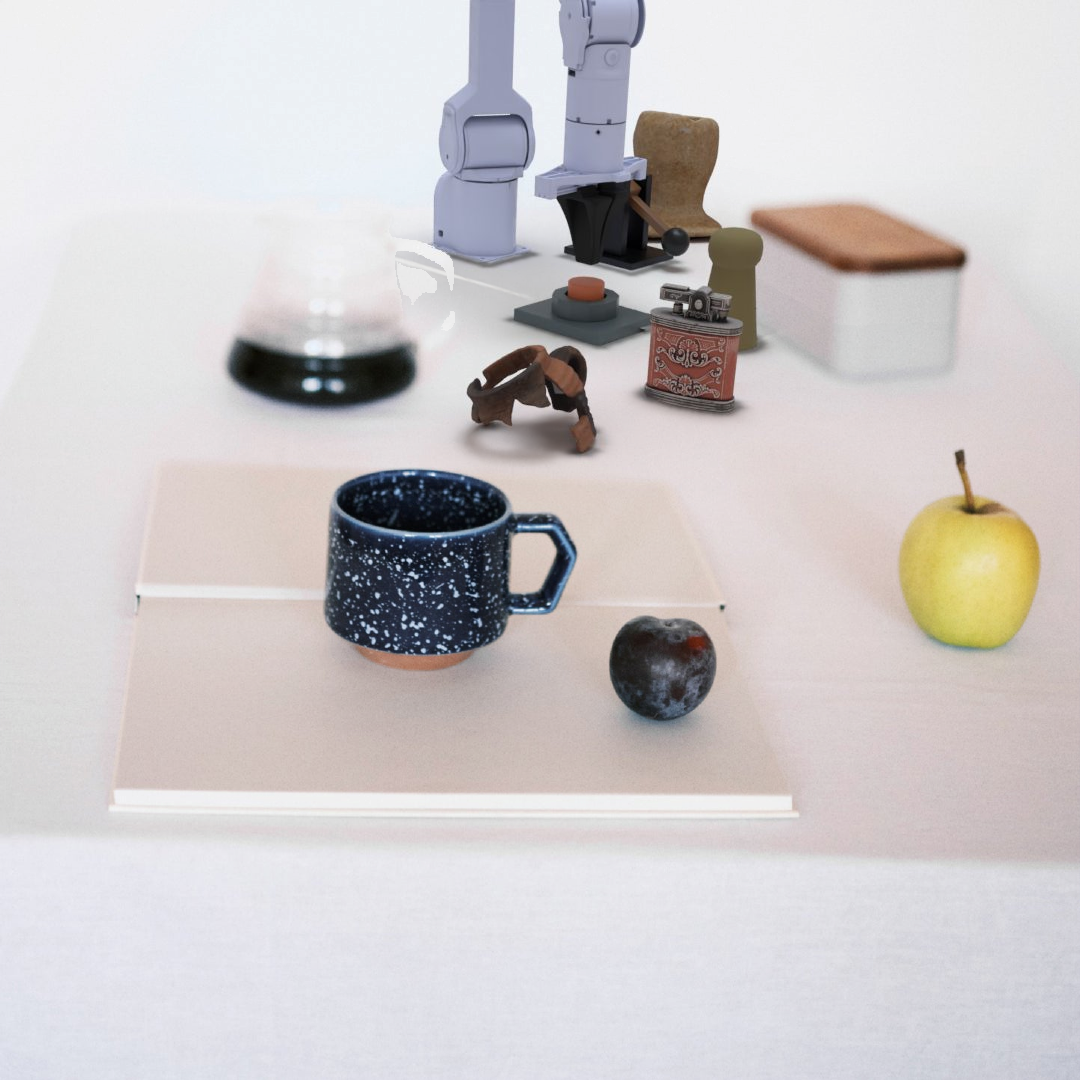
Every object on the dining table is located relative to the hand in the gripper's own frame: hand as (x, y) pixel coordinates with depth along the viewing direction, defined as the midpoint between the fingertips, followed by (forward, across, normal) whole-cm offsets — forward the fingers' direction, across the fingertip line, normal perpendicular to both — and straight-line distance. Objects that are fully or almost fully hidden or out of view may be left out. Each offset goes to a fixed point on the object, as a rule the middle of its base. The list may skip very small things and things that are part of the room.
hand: (587, 262), depth 135 cm
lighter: (+6, -10, -20) cm, 23 cm away
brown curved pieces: (+6, -25, -16) cm, 30 cm away
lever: (+2, +22, +10) cm, 24 cm away
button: (+4, 0, 0) cm, 4 cm away
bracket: (+6, +22, +13) cm, 26 cm away
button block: (+6, 0, 0) cm, 6 cm away
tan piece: (+6, +35, +17) cm, 39 cm away
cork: (+6, +6, -13) cm, 16 cm away
